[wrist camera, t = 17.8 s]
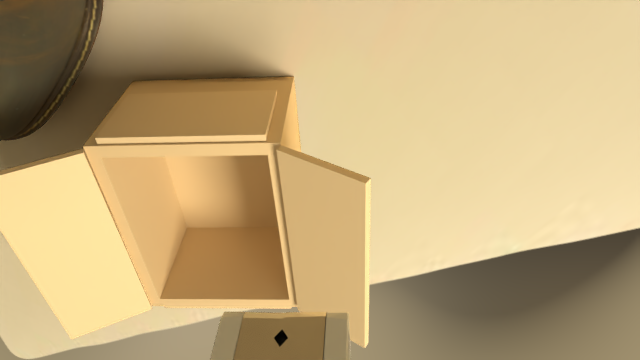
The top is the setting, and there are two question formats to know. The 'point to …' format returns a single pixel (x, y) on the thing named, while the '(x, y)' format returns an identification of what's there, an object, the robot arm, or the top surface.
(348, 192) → the flap
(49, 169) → the flap
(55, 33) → the boot
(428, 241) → the top surface
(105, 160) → the carton
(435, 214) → the top surface
